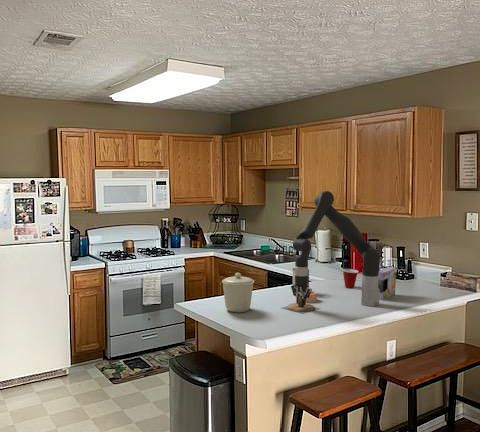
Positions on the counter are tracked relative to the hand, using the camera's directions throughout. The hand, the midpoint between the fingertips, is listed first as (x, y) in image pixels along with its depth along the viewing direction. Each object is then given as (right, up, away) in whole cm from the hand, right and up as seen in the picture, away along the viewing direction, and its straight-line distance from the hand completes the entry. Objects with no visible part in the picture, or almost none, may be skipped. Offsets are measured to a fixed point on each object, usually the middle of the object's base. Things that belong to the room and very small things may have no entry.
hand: (301, 304), depth 279 cm
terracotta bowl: (+6, -1, +19) cm, 20 cm away
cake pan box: (+56, -1, +28) cm, 62 cm away
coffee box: (+4, 0, +37) cm, 37 cm away
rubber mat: (0, -3, 0) cm, 3 cm away
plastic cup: (+40, +1, +54) cm, 67 cm away
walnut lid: (0, -2, 0) cm, 2 cm away
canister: (-35, -3, -3) cm, 36 cm away
